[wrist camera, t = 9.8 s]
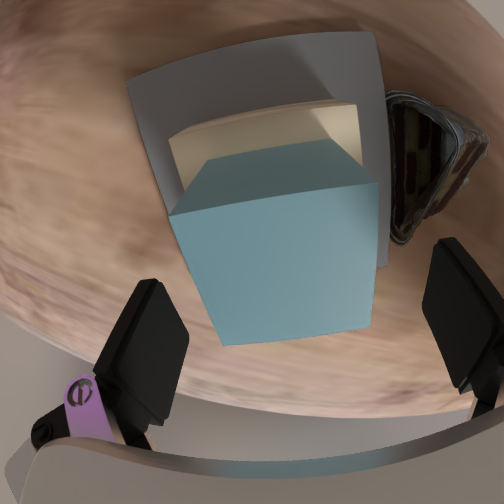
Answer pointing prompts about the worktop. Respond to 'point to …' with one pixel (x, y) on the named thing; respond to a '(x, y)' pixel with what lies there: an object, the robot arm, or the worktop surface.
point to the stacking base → (267, 88)
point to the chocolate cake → (427, 159)
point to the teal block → (281, 242)
